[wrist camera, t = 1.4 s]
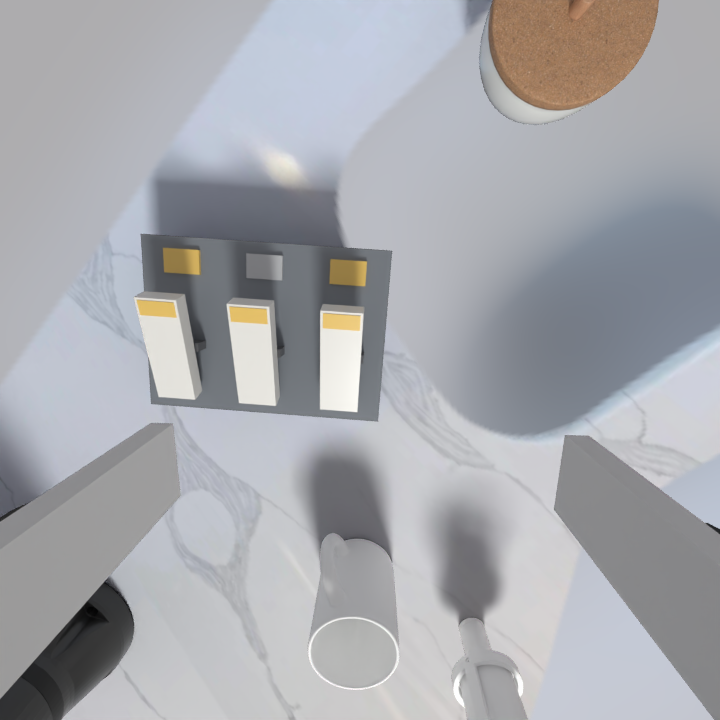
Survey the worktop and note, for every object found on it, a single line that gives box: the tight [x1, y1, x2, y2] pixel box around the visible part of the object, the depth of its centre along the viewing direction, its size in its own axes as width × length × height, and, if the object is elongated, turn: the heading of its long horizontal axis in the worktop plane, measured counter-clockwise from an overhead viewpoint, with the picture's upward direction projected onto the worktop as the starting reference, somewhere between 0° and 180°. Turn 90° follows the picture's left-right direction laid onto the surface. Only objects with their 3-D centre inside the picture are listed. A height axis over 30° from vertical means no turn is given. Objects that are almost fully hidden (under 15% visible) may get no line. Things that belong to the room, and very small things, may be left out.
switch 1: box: [134, 291, 202, 400], centre depth 30 cm, size 3×9×2 cm, turn 176°
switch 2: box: [227, 298, 280, 406], centre depth 30 cm, size 3×9×1 cm, turn 176°
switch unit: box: [141, 234, 392, 421], centre depth 34 cm, size 21×15×6 cm
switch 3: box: [320, 304, 364, 412], centre depth 30 cm, size 3×9×2 cm, turn 176°
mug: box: [308, 533, 400, 690], centre depth 38 cm, size 12×8×10 cm
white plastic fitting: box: [451, 618, 528, 720], centre depth 37 cm, size 7×7×15 cm
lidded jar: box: [480, 0, 659, 125], centre depth 27 cm, size 11×11×9 cm
